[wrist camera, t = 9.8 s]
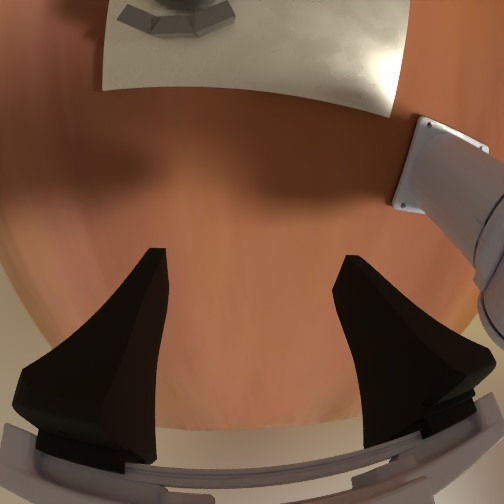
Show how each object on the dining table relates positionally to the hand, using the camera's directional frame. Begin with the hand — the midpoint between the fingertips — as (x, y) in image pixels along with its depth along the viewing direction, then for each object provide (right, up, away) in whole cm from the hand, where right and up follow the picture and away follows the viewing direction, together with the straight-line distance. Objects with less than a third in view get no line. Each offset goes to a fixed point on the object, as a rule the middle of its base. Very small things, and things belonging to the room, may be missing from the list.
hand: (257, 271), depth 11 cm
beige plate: (+1, +16, 0) cm, 16 cm away
